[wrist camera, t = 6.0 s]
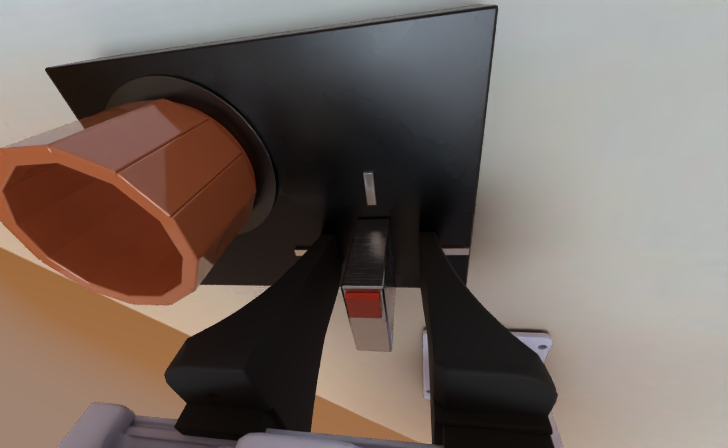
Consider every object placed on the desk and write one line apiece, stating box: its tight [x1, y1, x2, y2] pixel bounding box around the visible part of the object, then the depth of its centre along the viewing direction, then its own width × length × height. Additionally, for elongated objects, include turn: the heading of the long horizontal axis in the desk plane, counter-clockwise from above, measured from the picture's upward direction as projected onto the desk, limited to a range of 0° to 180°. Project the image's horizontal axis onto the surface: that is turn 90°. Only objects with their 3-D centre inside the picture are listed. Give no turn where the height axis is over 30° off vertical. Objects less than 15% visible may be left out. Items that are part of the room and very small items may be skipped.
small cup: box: [0, 99, 256, 305], centre depth 10 cm, size 6×6×4 cm
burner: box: [105, 74, 278, 235], centre depth 12 cm, size 7×7×1 cm
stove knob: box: [341, 219, 396, 352], centre depth 12 cm, size 4×1×4 cm, turn 8°
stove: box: [45, 4, 498, 288], centre depth 14 cm, size 12×15×3 cm
